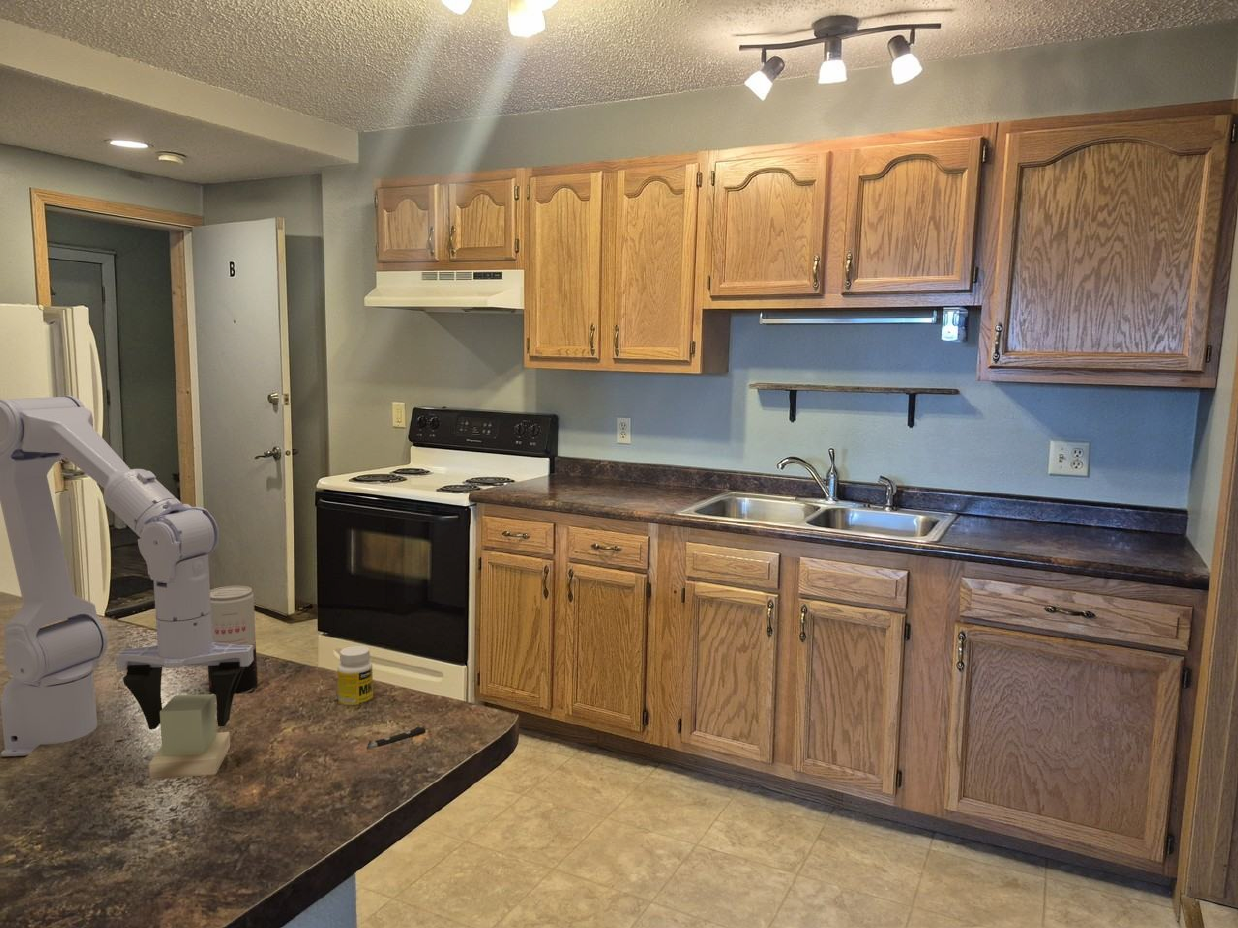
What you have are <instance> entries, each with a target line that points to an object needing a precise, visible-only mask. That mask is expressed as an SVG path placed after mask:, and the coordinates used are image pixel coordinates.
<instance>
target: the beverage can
mask: <svg viewBox="0 0 1238 928" xmlns="http://www.w3.org/2000/svg"><path fill="white" fill-rule="evenodd" d="M254 595H255V594H254V592H253V589H252V588H251V587H250V586H245V585H226V586H220V587H217V588H212V589H210V602H211V624H212V642H216V643H225V644H235V645H253V657H254V660H253V661H252V663H251V664H250V665H249V666H245V668H244V670H243V673H242V675H241V677H240V680H239V682H238V685H237V687H236V690H235V694H234V695H240V694H241V695H242V694H249V693H250V692H252V691H253V690H254V689H255V688H256V687H257V686H258V683H259V682H258V664H257V662H258V661H257V660H258V658H257V640H256V638H257V637H256V625H255V624H256V619H255V615H256V614H255V599H254V598H255V597H254ZM218 668H219V665H209V666H207V673H208V674H207V676H208V691H209V692H210V694H214V696H216V693H215V688H214V684H213V680H212V674H213V673H214V672H215V671H216V670H217V669H218Z"/></svg>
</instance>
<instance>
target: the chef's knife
mask: <svg viewBox="0 0 1238 928" xmlns="http://www.w3.org/2000/svg"><path fill="white" fill-rule="evenodd" d="M426 730H427V729H426V728H425V727H424V726H422V727H421V726H417V727H414V728H413V729H410V730H408V731H405V732H402V733H399V734H396V735H391V736H389V737H384V738H381V739H376V740H371V739H369V740H368V743H367V747H366V751H368V750H371V749H376V748H378V747H381V746H384V745H388V744H392V743H395V742H398V741H402V740H405V739H409V738H412V737H414V736H418V735H421V734H424V733H426Z"/></svg>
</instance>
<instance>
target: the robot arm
mask: <svg viewBox="0 0 1238 928" xmlns="http://www.w3.org/2000/svg"><path fill="white" fill-rule="evenodd" d="M64 458H66V460H68V461H70V462H71V463H72V464H73V465H74V466H75V467H77V468H78V469H80V470H81V471H82V472H84V474H86V475H87V476H88V477H89V478H91V479H92V480H93V481H95V482H96V483H97V484H98V485H99V486H101V487H102V488H103V489H104V491H103V495H102V496H103V497H102V499H103V503H104V504H105V505H106V506H107V507H108V508H109V509H110V510H111V512H113V514H115V515H116V516H117V517H118V518H119V519H121V521H123V522H124V524H125V525H126V526H128V527H129V528H130V529H131V530H132V532H134V533H135V534H136V536H138V537H139V538H138V539H137V544H138V545H137V546H138V549H139V552H140V554H141V556H142V558H143V559H144V561H145V562H146V566H147V574H148V576H149V578H150V580H151V581H153V594H154V608H155V609H154V610H155V611H154V612H155V625H156V627H155V628H156V642H157V645H150V646H144V647H136V648H135V647H133V648H123V649H122V650H120V651H118V653H117V654H116V655H115V663H116V671H126V675H124V677H122V678H123V679H122V681H123V684H124V686H125V687H126V688H127V689H128V690H129V691H130V693H131V694H132V695H133V697H134V698H135V699H136V702H137V703H138V705H139V707H140V708H141V711H142V714H143V715H144V719H145V721H146V724H147V727H148V729H149V730H156V729H157V728H158V727H159V726H160V711H161V710H162V709H163V703H162V673H163V668H165V669H178V668H183V667H203V666H205V667H206V666H207V667H208V666H209V665H219V668H218V669H217V670H216V671H215V672H214V673H213V674H212V680H213V684H214V688H215V693H216V695H215V700H216V724H217V727H225V726H226V725H227V723H228V722H229V721H230V720H231V719H230V717H231V711H232V710H231V709H232V706H233V705H232V704H233V700H234V696H235V695H236V694H235V690H236V687H237V685H238V682H239V680H240V677H241V675H242V673H243V670H244V668H245V666H249V665H250V664H251V663H252V661H253V660H254V657H253V645H235V644H225V643H216V642H212V624H211V602H210V590H211V588H210V587H211V583H210V568H209V566H210V565H209V554H211V553H213V552H214V551H215V549H216V548H217V546H218V543H219V541H220V540H219V538H220V533H219V532H220V531H219V527H218V525H217V522H216V520H215V518H214V517H213V516H212V515H211V514H210V511H208V509H206V508H204V507H202V506H191V505H190V504H189V503H183V502H181V501H180V500H179V499H178V498H177V497H176V496H175V495H174V494H173V493H172V492H170V490H168V489H167V488H166V487H165V486H164V485H163V484H162V483H161V482H160V481H158V480H157V479H156V478H157V477H156V475H155V474H154V473H153V472H152V471H150V470H147V469H144V468H133V469H132V468H130V467H129V466H128V465H127V464H126V463H125V461H123V459H122V458H121V457H120V456H119V454H117V453H116V452H115V450H114V449H113V448H112V447H111V446H110V445H109V444H108V443H107V441H106V440H105V439H104V438H103V437H102V436H101V435H100V433H98V431H97V430H96V429H95V428H94V418H93V412H92V411H91V410H90V409H89V408H88V407H85V405H84V404H83V403H82V401H81V400H80V399H79V398H77V397H76V396H74V395H71V394H70V395H69V394H68V395H61V396H57V397H56V396H52V397H50V396H49V397H33V398H12V399H10V398H9V399H6V398H0V507H1V513H2V516H3V521H4V524H5V528H6V534H7V537H8V542H9V547H10V550H11V556H12V559H13V563H14V568H15V573H16V576H17V581H18V586H19V589H20V590H19V591H20V594H21V595H20V596H21V598H22V603H23V605H22V607H21V608H20V609H19V610H18V611H17V612H16V613H15V614H14V615H13V616H12V618H11V619H9V620H8V621H7V623H6V624H5V625H4V627H3V631H4V637H5V640H4V641H5V648H4V653H3V655H4V656H3V657H4V664H5V667H6V668H7V671H8V672H9V674H10V675H11V676H12V678H11V679H10V680H9V681H8V682H7V683H6V685H5V687H4V688H3V692H2V696H1V700H0V701H1V702H0V711H1V724H2V732H3V734H2V735H3V745H4V749H3V750H2V751H1V752H0V755H1V757H17V756H19V757H20V756H29V755H30V754H31V753H33V751H35V750H36V749H37V748H38V747H39V746H40V745H57V744H58V745H59V744H64V743H68V742H71V741H75V740H78V739H81V738H83V737H86V736H88V735H90V734H91V733H92V732H94V731H95V730H96V729H97V727H98V717H97V703H96V702H97V701H96V691H95V689H96V687H95V677H94V670H95V669H96V668H99V666H100V665H99V659H101V658H102V657H103V656H104V655H105V653H106V651H107V649H108V643H109V642H108V639H109V638H108V633H107V629H106V627H105V626H104V624H103V623H102V622H101V620H100V618H99V616H98V614H97V610H96V605H95V604H94V603H93V602H90V601H88V600H86V599H84V598H81V597H80V596H77V595H76V594H74V590H73V587H72V581H71V576H70V572H69V568H68V564H67V560H66V554H65V551H64V546H63V542H62V537H61V533H60V528H59V523H58V519H57V515H56V510H55V505H54V501H53V496H52V493H51V488H50V484H49V480H48V474H49V472H50V470H51V469H52V468H53V467H54V465H55V464H56V463H58V462H60V461H62V460H63V459H64ZM65 619H66V620H65ZM59 621H60V622H59ZM49 624H50V625H49ZM46 625H47V626H46Z"/></svg>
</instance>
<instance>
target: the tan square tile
mask: <svg viewBox="0 0 1238 928" xmlns="http://www.w3.org/2000/svg"><path fill="white" fill-rule="evenodd" d="M216 736H217V737H216V738H215V740H214V741H213V742H212V744H211V745H210V746H209V748H208V749H207V750H206V752H205V753H204V754H203V755H183V756H162V745H161V746H160V747H159V749H158V750H157V752H156V753H155V755H154V756H153V758H152V759H151V761H150V762H149V763H148V768H149V780H150V781H152V780H165V779H175V778H176V779H177V778H178V779H179V778H188V777H189V778H190V777H199V776H211V775H217V773H218V771H219V770H220V767H221V765H222V763H223V761H224V760H225V757H226V756H227V753H228V752H229V750H230V748H231V733H230V731H225V732H224V731H223V732H216Z"/></svg>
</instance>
